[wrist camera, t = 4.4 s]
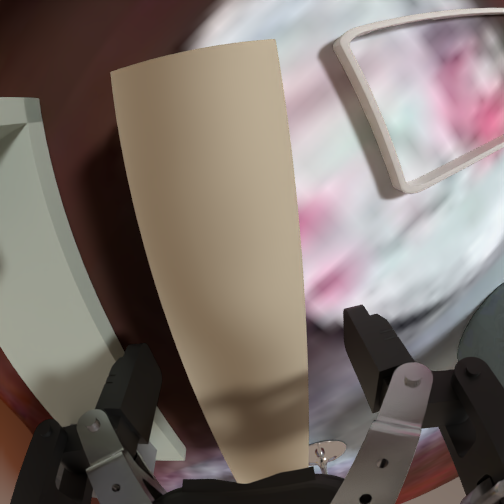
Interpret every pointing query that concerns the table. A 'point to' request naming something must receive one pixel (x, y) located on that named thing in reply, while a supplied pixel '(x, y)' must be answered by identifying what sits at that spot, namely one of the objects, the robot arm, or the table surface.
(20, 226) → the bracket stand
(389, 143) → the phone case
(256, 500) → the robot arm
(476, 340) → the grey plant pot
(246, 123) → the rail
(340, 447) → the wineglass
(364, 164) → the table surface
